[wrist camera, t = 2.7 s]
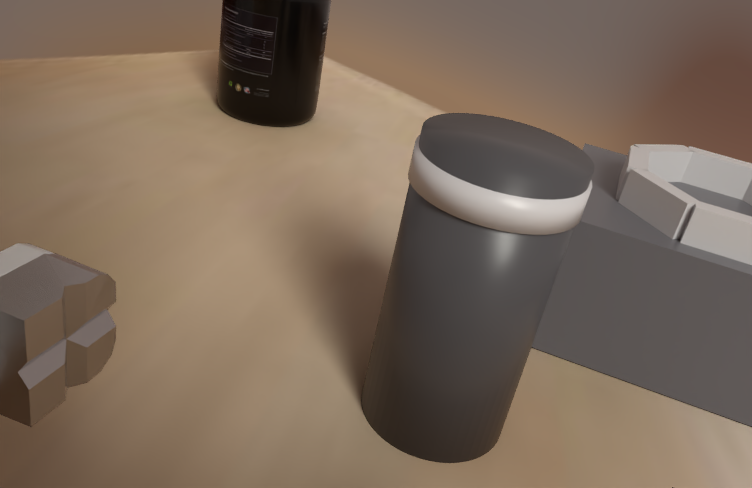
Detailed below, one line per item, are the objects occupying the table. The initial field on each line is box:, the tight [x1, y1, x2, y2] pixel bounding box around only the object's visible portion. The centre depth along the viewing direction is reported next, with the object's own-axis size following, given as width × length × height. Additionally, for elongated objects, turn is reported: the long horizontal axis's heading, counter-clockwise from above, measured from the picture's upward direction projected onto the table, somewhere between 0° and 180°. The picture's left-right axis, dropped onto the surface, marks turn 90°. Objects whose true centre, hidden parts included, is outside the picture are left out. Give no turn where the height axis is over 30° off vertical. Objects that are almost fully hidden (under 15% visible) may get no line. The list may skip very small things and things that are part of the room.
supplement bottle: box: [217, 0, 331, 126], centre depth 46 cm, size 7×7×12 cm
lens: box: [361, 113, 595, 463], centre depth 23 cm, size 5×5×10 cm
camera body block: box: [532, 144, 752, 427], centre depth 31 cm, size 12×10×8 cm
